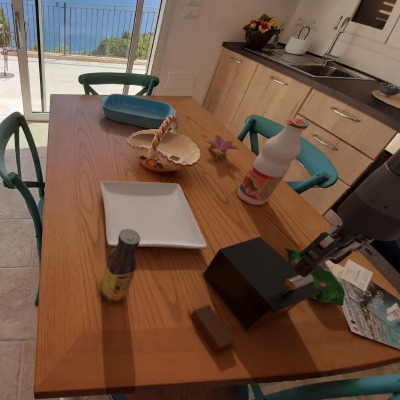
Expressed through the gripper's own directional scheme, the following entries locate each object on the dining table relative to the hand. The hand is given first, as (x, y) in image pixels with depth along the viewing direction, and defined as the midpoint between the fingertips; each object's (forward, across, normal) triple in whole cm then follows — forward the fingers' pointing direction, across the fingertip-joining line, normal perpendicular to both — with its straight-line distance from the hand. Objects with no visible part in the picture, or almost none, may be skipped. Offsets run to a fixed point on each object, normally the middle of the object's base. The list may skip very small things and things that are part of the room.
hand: (315, 266), depth 48 cm
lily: (+20, +38, +58) cm, 72 cm away
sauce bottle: (+20, -30, +16) cm, 39 cm away
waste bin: (+20, 0, +6) cm, 20 cm away
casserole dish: (+20, +22, +98) cm, 102 cm away
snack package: (+20, +19, +3) cm, 28 cm away
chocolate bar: (+20, -14, +1) cm, 24 cm away
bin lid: (+10, 0, +5) cm, 11 cm away
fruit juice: (+20, +31, +33) cm, 50 cm away
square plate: (+20, -10, +35) cm, 41 cm away
